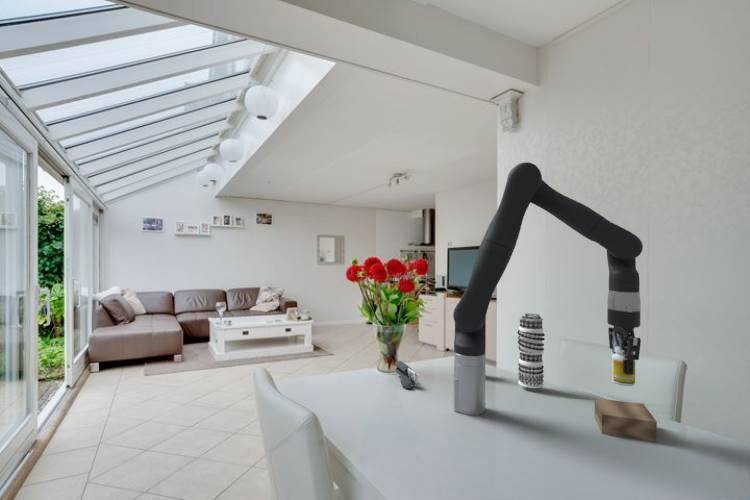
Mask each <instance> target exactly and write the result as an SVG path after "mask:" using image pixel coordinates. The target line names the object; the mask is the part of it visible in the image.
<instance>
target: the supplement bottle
mask: <svg viewBox="0 0 750 500" xmlns="http://www.w3.org/2000/svg"><path fill="white" fill-rule="evenodd" d="M625 348H627V347H625ZM615 352H616V353H615V354H614V353H613V354H612V356H611V381H612V383H613V384H616V385H618V386H623V387H633V386H635V385H636V360H634V373H633V375H627V374H624V373H623V360H624V359H623V353H622V351H621V350H620V347H619V346H615ZM626 353H627V351H626Z"/></svg>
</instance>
